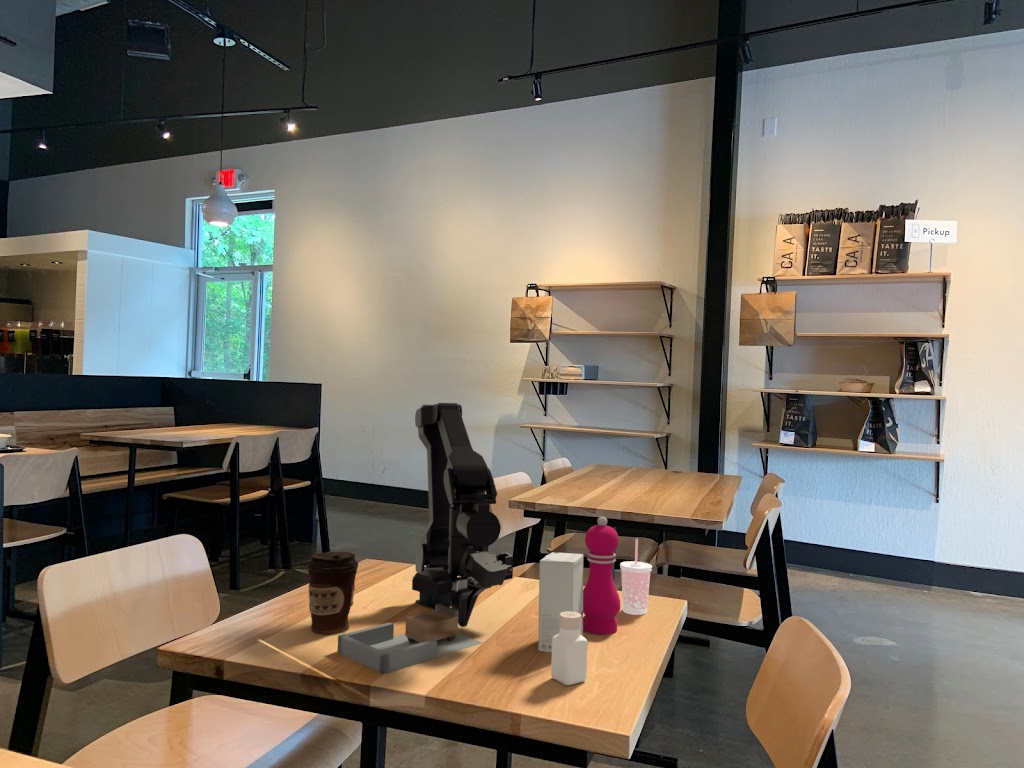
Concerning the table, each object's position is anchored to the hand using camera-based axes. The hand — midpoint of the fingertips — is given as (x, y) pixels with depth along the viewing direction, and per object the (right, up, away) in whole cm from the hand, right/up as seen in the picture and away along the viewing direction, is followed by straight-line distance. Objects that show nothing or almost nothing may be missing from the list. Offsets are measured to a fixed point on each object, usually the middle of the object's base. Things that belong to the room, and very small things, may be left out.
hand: (462, 626), depth 124 cm
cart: (-5, -1, -5) cm, 7 cm away
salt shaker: (+17, -2, -19) cm, 25 cm away
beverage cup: (+32, -3, +16) cm, 36 cm away
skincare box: (+16, -2, -5) cm, 17 cm away
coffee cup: (-23, -1, 0) cm, 23 cm away
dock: (-8, -1, -8) cm, 11 cm away
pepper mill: (+24, -2, +5) cm, 25 cm away
